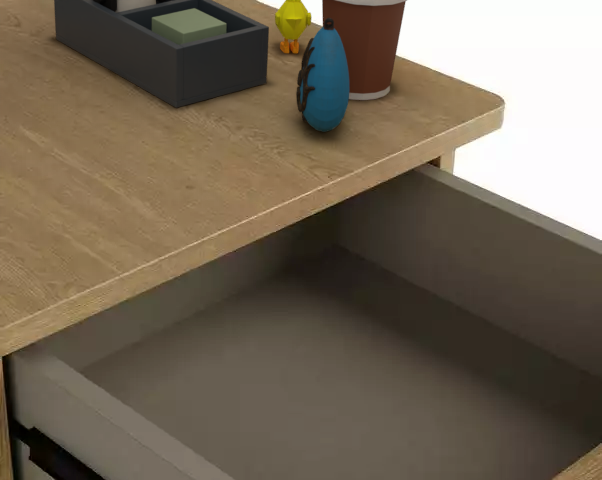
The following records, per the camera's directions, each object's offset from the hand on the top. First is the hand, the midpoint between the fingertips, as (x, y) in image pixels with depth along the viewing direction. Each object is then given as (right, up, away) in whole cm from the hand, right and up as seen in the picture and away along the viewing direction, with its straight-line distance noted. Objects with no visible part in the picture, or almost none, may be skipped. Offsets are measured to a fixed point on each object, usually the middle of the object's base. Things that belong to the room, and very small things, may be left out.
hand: (129, 1), depth 127 cm
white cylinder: (0, -2, +1) cm, 2 cm away
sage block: (+6, -8, -4) cm, 11 cm away
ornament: (+18, -14, -12) cm, 26 cm away
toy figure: (+16, -4, +4) cm, 17 cm away
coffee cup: (+22, -9, -3) cm, 24 cm away
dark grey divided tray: (+3, -6, -1) cm, 7 cm away
